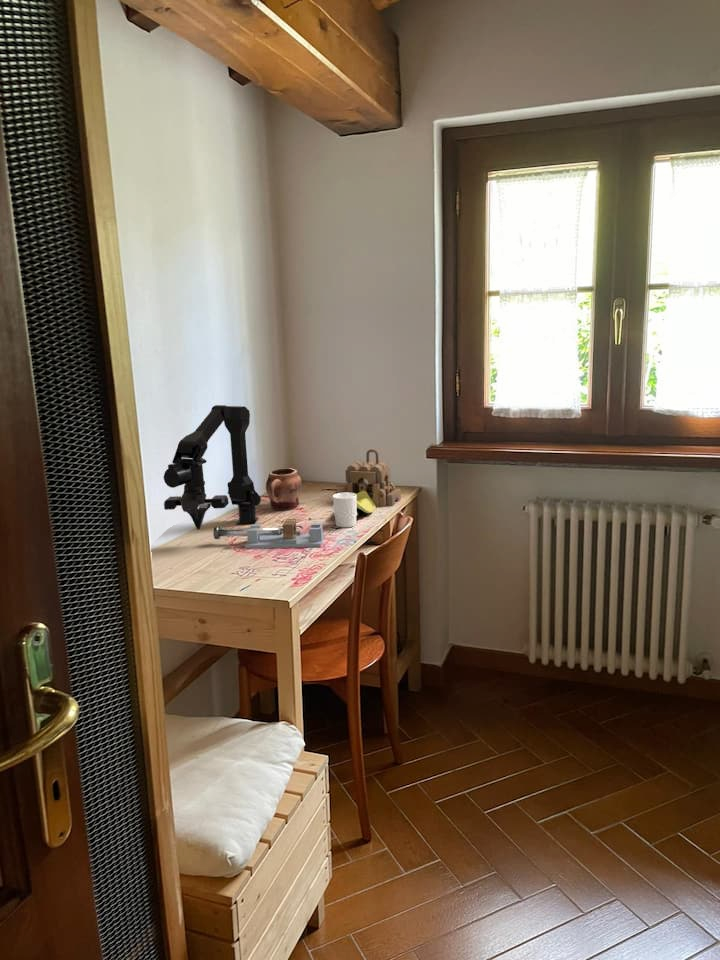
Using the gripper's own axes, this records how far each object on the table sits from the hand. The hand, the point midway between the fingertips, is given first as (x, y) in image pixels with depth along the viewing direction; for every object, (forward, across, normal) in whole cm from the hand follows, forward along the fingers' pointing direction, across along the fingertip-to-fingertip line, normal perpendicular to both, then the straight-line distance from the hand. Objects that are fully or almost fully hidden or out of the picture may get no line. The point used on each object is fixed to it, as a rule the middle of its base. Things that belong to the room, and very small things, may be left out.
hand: (198, 529), depth 226 cm
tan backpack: (+5, +50, +48) cm, 69 cm away
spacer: (+4, +28, 0) cm, 29 cm away
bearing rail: (+5, +27, 0) cm, 27 cm away
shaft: (+3, +16, 0) cm, 16 cm away
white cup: (+5, +44, +18) cm, 48 cm away
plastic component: (+5, +46, +31) cm, 56 cm away
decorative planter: (+5, +20, +40) cm, 45 cm away
